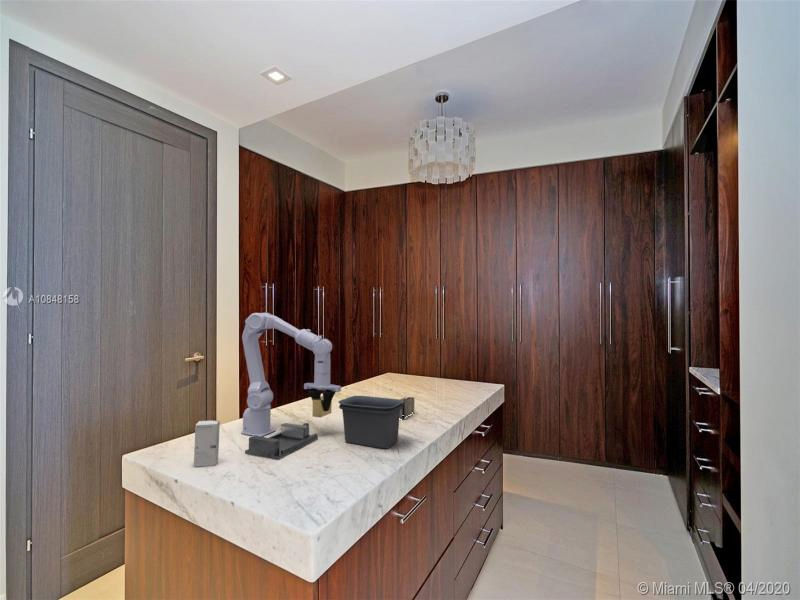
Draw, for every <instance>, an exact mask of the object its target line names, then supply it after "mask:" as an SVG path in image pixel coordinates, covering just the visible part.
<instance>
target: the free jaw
mask: <svg viewBox="0 0 800 600" xmlns="http://www.w3.org/2000/svg"><path fill="white" fill-rule="evenodd" d="M280 432H281V436H283V437H289V438H295V439H301V440H303V439H305V438H307V437H309V435H310V424H309V423H308V422H304V423H303V424H296V423H290V422H289V423H288V422H287V423H286V422H285V423H282V424H280Z"/></svg>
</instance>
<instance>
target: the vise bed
mask: <svg viewBox="0 0 800 600" xmlns="http://www.w3.org/2000/svg"><path fill="white" fill-rule="evenodd" d="M318 439H319V436H318V433H317V432H315V433H313V434H311V435H310V434H309V437H307V438H305V439H303V440H301V439H295V438H289V437H283V436H281V431H280V432H278V433H276V434H274V435H271V436H269V437H266V436H262V437H260V436H253V435H251V436H250V437H248V449H245V450H244V454H245V455H250V456H255V457H260V458H265V459H271V460H276V461H279V460H281V459H283V458H285V457H287V456H288V455H291V454H293V453H294V452H296V451H298V450H300V449H302V448H304V447H306V446H308V445H310V444H312V443H313V442H316V441H317V440H318Z"/></svg>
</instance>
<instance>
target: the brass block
mask: <svg viewBox="0 0 800 600" xmlns="http://www.w3.org/2000/svg"><path fill="white" fill-rule="evenodd" d="M332 402H333V400H332V401H331V404H330V408H329V410H328V411H324V398H323V395H321V397H319V398H316V399H313V401H312V410H311V411H312V417H314V418H319V419H321V418H323V417H325V416H328V415H329V414H332V404H333V403H332Z"/></svg>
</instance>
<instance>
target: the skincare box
mask: <svg viewBox="0 0 800 600" xmlns="http://www.w3.org/2000/svg"><path fill="white" fill-rule="evenodd" d="M220 424H221V421H220V420H219V419H218V420H199V421H198V422H197V423H196V424H195V427H194V431H195V432H194V449H193V452H194V455H193V467H209V466H211V467H212V466H216V464H217V463H218V461H219V450H220V449H219V448H220V429H221V428H220V426H221V425H220Z"/></svg>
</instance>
